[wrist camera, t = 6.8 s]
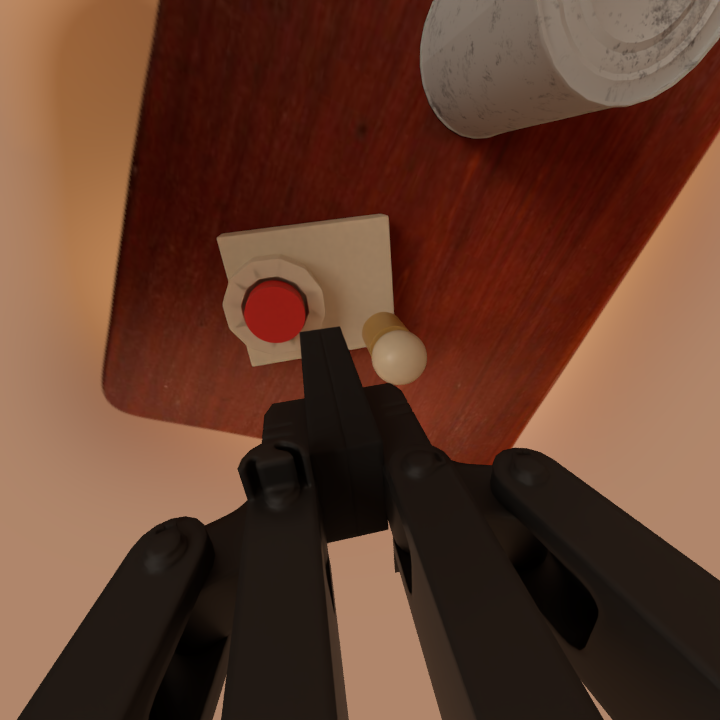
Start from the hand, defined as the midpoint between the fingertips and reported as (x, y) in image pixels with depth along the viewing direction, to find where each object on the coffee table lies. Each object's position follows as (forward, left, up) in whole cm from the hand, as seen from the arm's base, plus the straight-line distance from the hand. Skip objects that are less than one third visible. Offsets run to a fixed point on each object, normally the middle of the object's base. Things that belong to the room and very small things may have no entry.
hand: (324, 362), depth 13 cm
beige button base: (+2, 0, -16) cm, 16 cm away
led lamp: (+5, +5, -12) cm, 14 cm away
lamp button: (+2, -3, -13) cm, 13 cm away
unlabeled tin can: (-12, +14, -17) cm, 25 cm away
